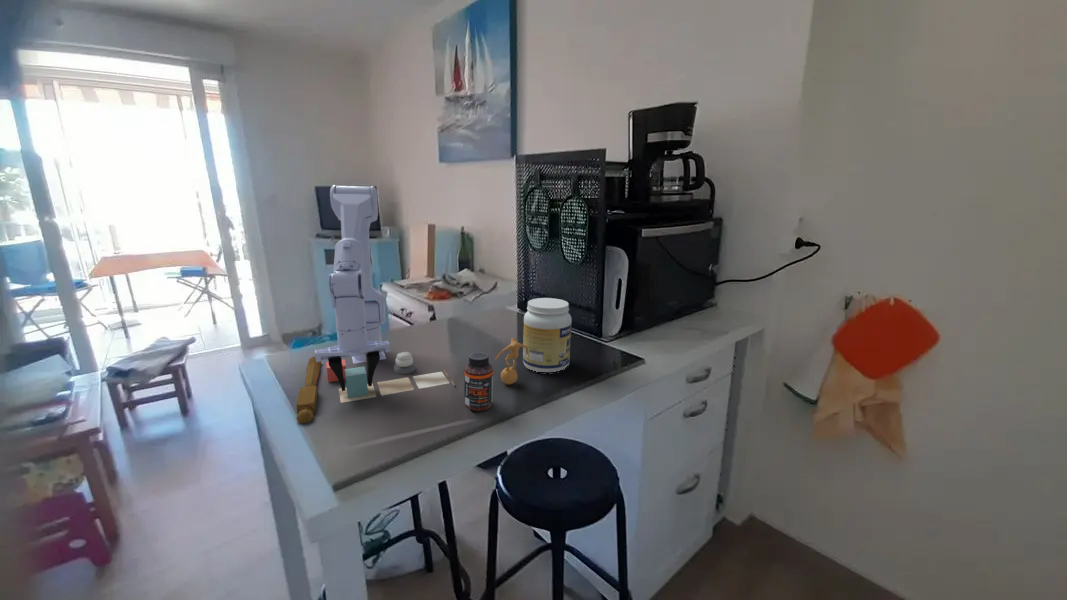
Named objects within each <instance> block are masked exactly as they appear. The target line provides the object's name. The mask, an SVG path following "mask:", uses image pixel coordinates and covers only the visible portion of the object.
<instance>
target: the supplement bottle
mask: <svg viewBox="0 0 1067 600" xmlns="http://www.w3.org/2000/svg"><path fill="white" fill-rule="evenodd" d="M489 358H490V357H489V354H487V353H486V352H481V351H479V352H473V353H471V354H469V356H468V363H467V364H466V365H465V366H464V369H463V371H464V373H463V374H464V380H463V381H464V384H463V385H464V391H463V392H464V396H463V397H464V399H463V400H464V406H465V407H466V408H468V409H469V410H470V411H472V412H483V411H487V410H489V409H490V408H492V406H493V403H494V402H493V401H494V367H493V365H492V364H491V363H490V362H489V361H490V360H489Z"/></svg>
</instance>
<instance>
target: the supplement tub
mask: <svg viewBox="0 0 1067 600" xmlns="http://www.w3.org/2000/svg"><path fill="white" fill-rule="evenodd" d="M569 304H570V303H569V302H568V301H566V300H564V299H559V298H553V297H540V298H539V297H537V298H532V299H530V300H528V301H527V307H526V310H527V311H526V312H525V314H524V316H523V337H522V338H523V339H522V340H523V343H522V344H523V345H526V346H527V347H528V354H526V348H523V347H522V362H523V365H524V366H525V368H527V369H528V370H529V369H530V371H531V370H533V371H532V372H534V371H536V372H535V373H537V372H556V371H560V370H563V369H564V370H566V369H567V368H568V367H569V365H570V360H571V359H570V356H571V337H572V335H571V334H572V322H573V321H572V319H573V318H572V316H571V314H570V313H569V311H570V308H569V307H570V305H569ZM567 366H568V367H567ZM566 367H567V368H566ZM565 368H566V369H565ZM564 370H563V371H564Z"/></svg>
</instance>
